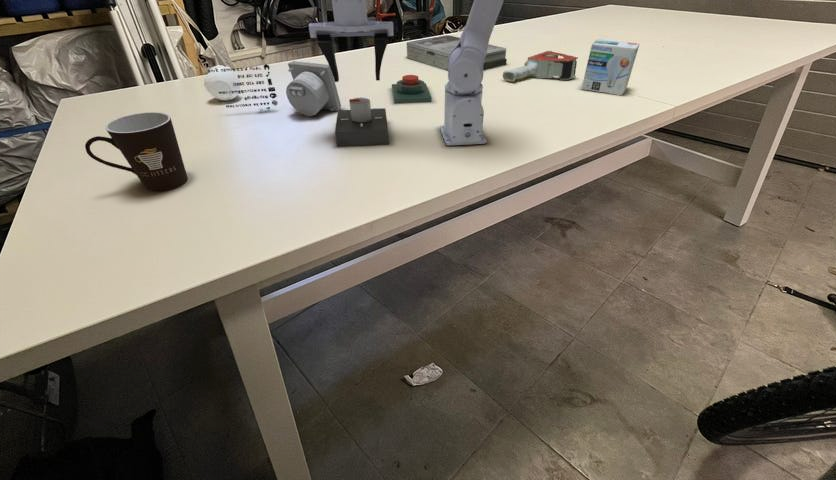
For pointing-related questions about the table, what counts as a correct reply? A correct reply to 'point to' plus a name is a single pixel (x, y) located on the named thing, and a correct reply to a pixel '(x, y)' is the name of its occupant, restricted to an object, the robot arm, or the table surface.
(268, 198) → the table surface
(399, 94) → the button block
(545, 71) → the tape dispenser
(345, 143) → the dial panel
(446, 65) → the hard drive
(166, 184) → the coffee mug
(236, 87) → the motion sensor
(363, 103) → the knob
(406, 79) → the button
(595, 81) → the light bulb box
